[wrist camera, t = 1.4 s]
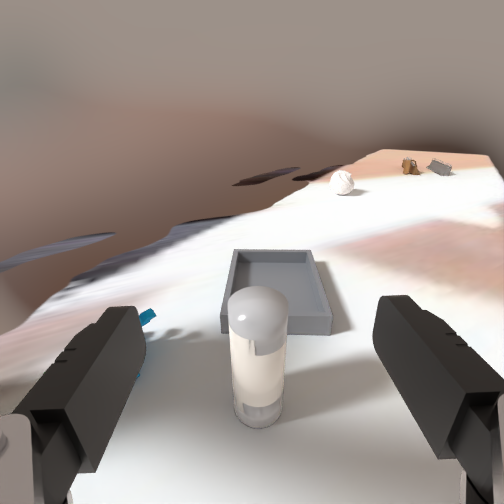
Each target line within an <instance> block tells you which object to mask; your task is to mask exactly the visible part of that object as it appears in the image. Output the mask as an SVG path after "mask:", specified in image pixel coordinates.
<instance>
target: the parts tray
mask: <svg viewBox="0 0 504 504" xmlns="http://www.w3.org/2000/svg"><path fill="white" fill-rule="evenodd" d="M251 286H264V287H270V288H273V289H275V290H277V291H279V292H281V293H282V294H283V295H284V296H285V297H286V298H287V300H288V304H289V307H288V323H287V335H330V333H331V327H332V321H333V315H332V312H331V309H330V306H329V303H328V300H327V297H326V294H325V291H324V288H323V285H322V282H321V279H320V276H319V273H318V270H317V267H316V264H315V261H314V258H313V255H312V252H311V250H248V249H234V252H233V256H232V261H231V266H230V270H229V275H228V280H227V284H226V289H225V294H224V298H223V303H222V308H221V312H220V321H221V333H229V320H228V300H229V298H230V297H231V296H232V295H233V294H234V293H235V292H237V291H238V290H241V289H243V288H246V287H251Z"/></svg>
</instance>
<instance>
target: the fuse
mask: <svg viewBox="0 0 504 504" xmlns="http://www.w3.org/2000/svg"><path fill="white" fill-rule="evenodd" d="M288 307H289V304H288V300H287V298H286V297H285V296H284V295H283V294H282V293H281V292H279V291H277V290H275V289H273V288H270V287H264V286H251V287H246V288H243V289H241V290H238V291H237V292H235V293H234V294H233V295H232V296H231V297H230V298H229V300H228V320H229V336H230V351H231V366H232V382H233V397H234V409H235V413H236V415H237V417H238V419H239V420H240V421H241V422H242V423H243V424H245V425H247V426H249V427H251V428H257V429H259V428H265V427H268V426H270V425H272V424H273V423H275V422H276V421H277V419H278V418H279V416H280V414H281V411H282V402H283V386H284V370H285V355H286V339H287V323H288Z"/></svg>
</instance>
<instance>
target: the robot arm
mask: <svg viewBox="0 0 504 504" xmlns="http://www.w3.org/2000/svg"><path fill="white" fill-rule="evenodd" d="M373 344H374V348H375V351H376V353H377V355H378V356H379V358H380V360H381V361H382V363H383V365H384V367H385V368H386V370H387V372H388V374H389V375H390V377H391V379H392V380H393V382H394V384H395V386H396V387H397V389H398V391H399V393H400V394H401V396H402V398H403V400H404V401H405V403H406V405H407V406H408V408H409V410H410V412H411V413H412V415H413V417H414V419H415V420H416V422H417V424H418V426H419V427H420V429H421V431H422V432H423V434H424V436H425V438H426V439H427V441H428V443H429V445H430V446H431V448H432V450H433V452H434V453H435V455H436V457H437V458H438V459H456V458H457V459H458V461H459V462H460V464H461V466H462V467H463V471H462V473H461V478H460V504H504V379H503V378H502V377H501V376H500V375H499V374H498V373H497V372H496V371H495V370H494V369H493V368H492V367H491V366H490V365H489V364H488V363H487V362H486V361H485V360H484V359H483V358H482V357H481V356H480V355H479V354H477V353H476V352H475V351H474V350H473V349H472V348H471V347H468V345H467V343H466V342H465V341H464V340H463V339H462V338H461V337H460V336H457V334H456V332H455V331H454V330H453V329H452V328H451V327H450V326H449V325H448V324H447V323H446V322H445V321H444V320H442V319H441V318H439V317H437V316H436V315H434V314H432V313H431V312H429V311H427V310H422V309H421V308H420V307H419V306H418V305H417V304H416V303H415V302H414V301H413V300H412V299H411V298H410V297H409V296H408V295H393V296H382V297H380V299H379V302H378V307H377V312H376V318H375V323H374V328H373ZM145 354H146V342H145V338H144V334H143V330H142V326H141V323H140V319H139V315H138V311H137V309H136V307H135V306H120V307H109V308H107V309H106V310H105V312H104V313H103V314H102V316H101V317H100V318H99V320H98V321H97V322H96V323H91V324H90V325H89V326H87V327H86V328H85V329H83V330H82V331H80V332H79V333H78V334H76V335H75V336H74V338H73V339H72V340H71V341H70V342H69V344H68V345H67V346H66V347H65V349H64V352H61V353H60V355H59V356H58V357H57V358H56V360H55V363H54V364H51V366H50V367H49V368H48V369H47V371H46V372H45V373H44V374H43V375H42V377H41V378H40V379H39V380H38V382H37V383H36V384H35V385H34V386H33V388H32V389H31V390H30V391H29V393H28V394H27V395H26V396H25V397H24V399H23V400H22V401H21V402H20V404H19V405H18V406H17V407H16V408H15V410H14V411H13V412H12V413H11V414H9V415H4V416H1V417H0V504H73V499H72V494H71V491H70V487H71V485H72V483H73V481H74V479H75V477H76V475H77V474H78V473H95V472H96V470H97V468H98V466H99V463H100V461H101V459H102V456H103V454H104V452H105V450H106V447H107V445H108V443H109V440H110V438H111V436H112V433H113V431H114V429H115V427H116V424H117V422H118V420H119V417H120V415H121V413H122V410H123V408H124V406H125V404H126V401H127V399H128V397H129V394H130V392H131V390H132V387H133V385H134V383H135V381H136V378H137V376H138V374H139V371H140V369H141V367H142V364H143V362H144V359H145Z"/></svg>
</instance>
